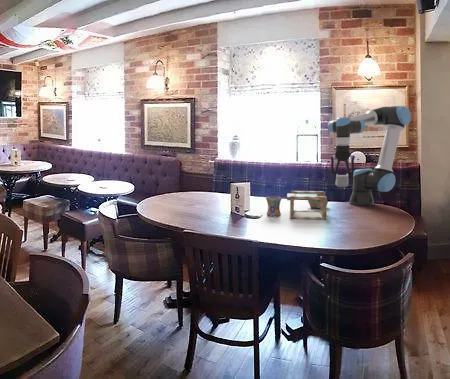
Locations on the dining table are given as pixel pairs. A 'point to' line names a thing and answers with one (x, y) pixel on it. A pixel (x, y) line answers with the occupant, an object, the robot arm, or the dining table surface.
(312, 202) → the rock
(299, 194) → the trapdoor
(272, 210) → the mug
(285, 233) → the dining table surface
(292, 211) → the frame
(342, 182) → the stone
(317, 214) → the mat
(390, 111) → the robot arm
